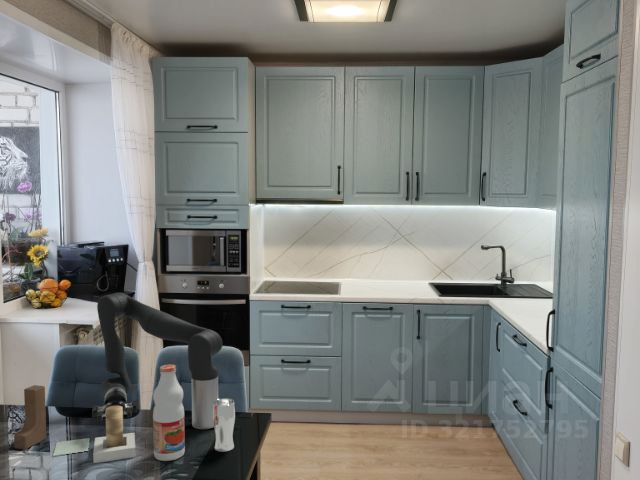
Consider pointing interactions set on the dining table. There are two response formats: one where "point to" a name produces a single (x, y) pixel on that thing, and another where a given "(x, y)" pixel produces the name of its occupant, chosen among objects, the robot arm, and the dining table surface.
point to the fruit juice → (168, 416)
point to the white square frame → (114, 449)
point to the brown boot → (32, 418)
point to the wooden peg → (114, 426)
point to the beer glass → (224, 424)
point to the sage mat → (71, 447)
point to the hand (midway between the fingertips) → (114, 416)
